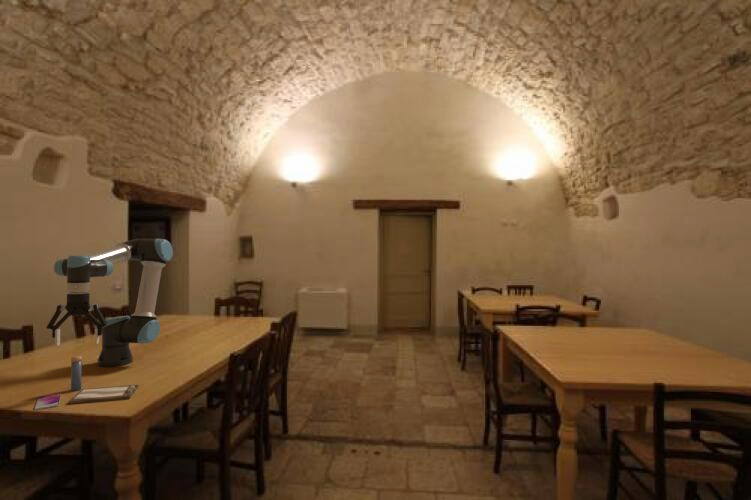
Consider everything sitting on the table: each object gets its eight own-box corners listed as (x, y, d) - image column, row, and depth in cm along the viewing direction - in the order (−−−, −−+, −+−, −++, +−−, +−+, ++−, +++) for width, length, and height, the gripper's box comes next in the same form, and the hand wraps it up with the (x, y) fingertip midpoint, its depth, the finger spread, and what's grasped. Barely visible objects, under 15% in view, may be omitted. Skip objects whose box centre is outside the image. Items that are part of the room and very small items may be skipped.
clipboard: (81, 391, 163) (82, 386, 163) (138, 387, 170) (138, 382, 170) (68, 404, 150) (68, 399, 150) (129, 398, 156) (129, 393, 156)
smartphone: (33, 409, 144) (37, 396, 156) (33, 412, 144) (37, 398, 156) (59, 405, 148) (61, 392, 160) (59, 407, 148) (61, 394, 160)
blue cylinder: (72, 388, 166) (73, 356, 166) (82, 388, 167) (83, 355, 167) (69, 391, 163) (69, 358, 163) (79, 391, 164) (80, 357, 164)
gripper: (36, 294, 157) (36, 348, 157) (110, 293, 165) (110, 344, 165) (45, 292, 164) (44, 344, 164) (116, 291, 173) (115, 340, 173)
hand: (77, 344), depth 165 cm, fingers open, 13 cm apart
